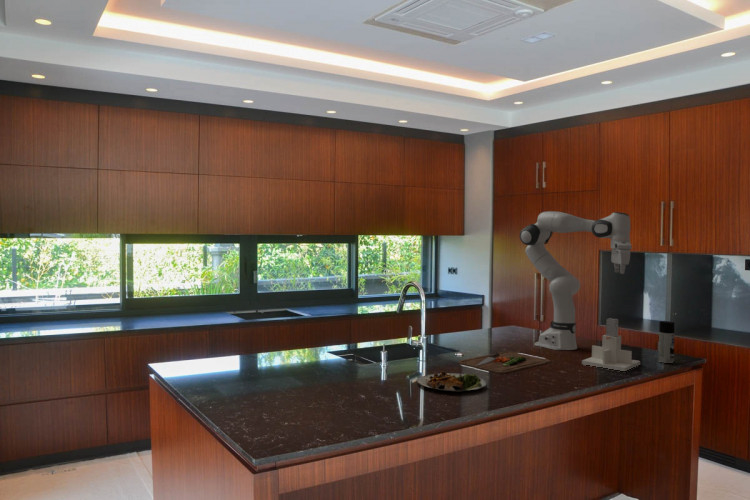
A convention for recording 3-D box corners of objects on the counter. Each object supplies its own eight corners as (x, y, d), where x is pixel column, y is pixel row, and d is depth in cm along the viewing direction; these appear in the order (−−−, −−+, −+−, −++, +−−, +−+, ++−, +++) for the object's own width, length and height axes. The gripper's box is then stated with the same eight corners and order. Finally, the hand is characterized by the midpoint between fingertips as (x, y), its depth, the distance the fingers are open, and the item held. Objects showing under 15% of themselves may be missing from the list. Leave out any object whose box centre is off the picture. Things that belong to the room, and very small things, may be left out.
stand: (581, 364, 273) (582, 335, 273) (598, 358, 288) (599, 330, 287) (624, 372, 260) (625, 341, 259) (640, 365, 274) (641, 336, 274)
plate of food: (500, 386, 233) (500, 371, 233) (458, 399, 214) (457, 383, 214) (445, 375, 253) (445, 362, 253) (402, 386, 234) (402, 371, 234)
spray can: (672, 365, 276) (673, 323, 275) (656, 362, 280) (658, 322, 279) (674, 362, 281) (676, 321, 280) (659, 360, 285) (660, 320, 284)
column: (605, 356, 273) (606, 319, 273) (608, 355, 276) (609, 318, 276) (614, 358, 271) (615, 320, 270) (617, 356, 274) (618, 319, 273)
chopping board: (497, 376, 251) (498, 369, 251) (452, 364, 271) (452, 358, 271) (555, 362, 280) (555, 356, 280) (510, 352, 300) (510, 347, 300)
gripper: (608, 244, 293) (607, 271, 294) (618, 245, 273) (618, 274, 274) (621, 244, 293) (620, 271, 293) (632, 245, 272) (632, 274, 273)
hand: (619, 273), depth 283 cm, fingers open, 8 cm apart
